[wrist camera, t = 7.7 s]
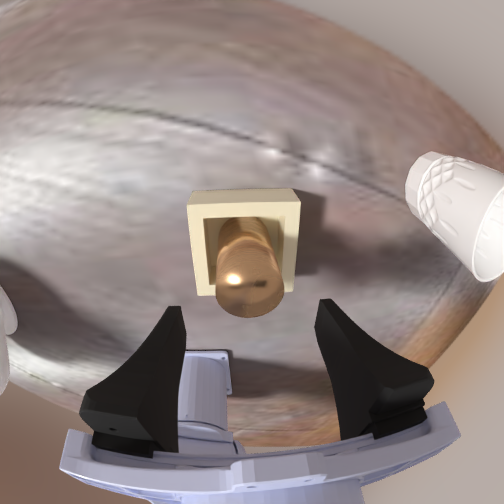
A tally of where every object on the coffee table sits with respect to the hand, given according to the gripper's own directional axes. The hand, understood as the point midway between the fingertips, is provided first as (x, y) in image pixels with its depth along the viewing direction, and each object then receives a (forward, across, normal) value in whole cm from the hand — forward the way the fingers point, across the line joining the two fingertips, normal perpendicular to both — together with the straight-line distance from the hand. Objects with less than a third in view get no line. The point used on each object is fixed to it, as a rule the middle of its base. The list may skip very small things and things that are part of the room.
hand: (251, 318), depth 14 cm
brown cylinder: (+9, 0, 0) cm, 9 cm away
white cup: (+10, -18, -5) cm, 21 cm away
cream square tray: (+10, 0, 0) cm, 10 cm away
